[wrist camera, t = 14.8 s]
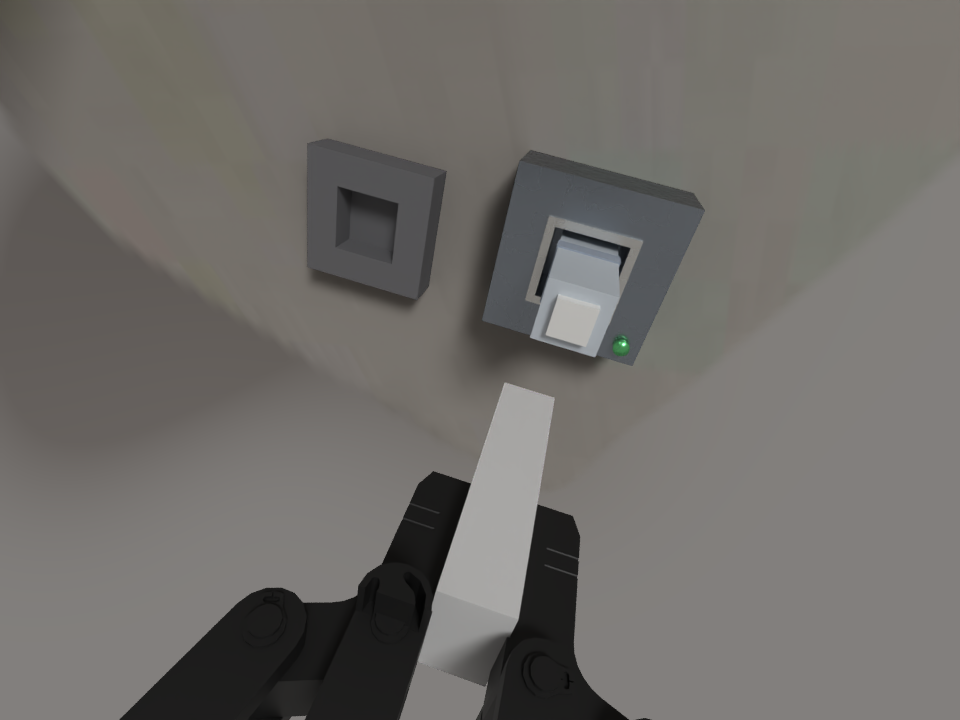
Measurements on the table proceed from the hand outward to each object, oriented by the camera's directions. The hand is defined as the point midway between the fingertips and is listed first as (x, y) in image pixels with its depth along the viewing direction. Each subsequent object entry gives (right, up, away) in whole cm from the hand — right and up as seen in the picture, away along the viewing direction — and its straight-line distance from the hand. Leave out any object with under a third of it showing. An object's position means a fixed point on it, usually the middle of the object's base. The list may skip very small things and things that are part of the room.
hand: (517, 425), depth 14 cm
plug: (+7, +10, +23) cm, 26 cm away
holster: (-9, +14, +26) cm, 31 cm away
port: (+7, +11, +23) cm, 26 cm away
